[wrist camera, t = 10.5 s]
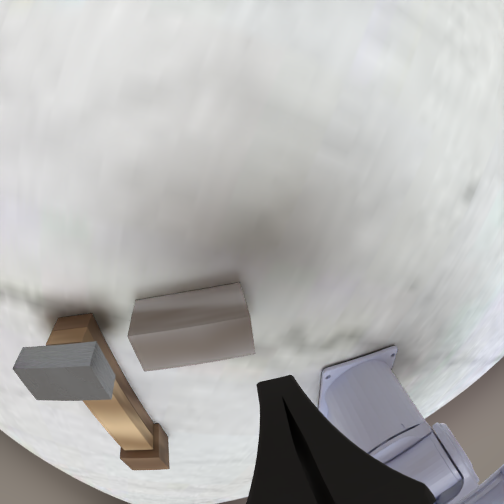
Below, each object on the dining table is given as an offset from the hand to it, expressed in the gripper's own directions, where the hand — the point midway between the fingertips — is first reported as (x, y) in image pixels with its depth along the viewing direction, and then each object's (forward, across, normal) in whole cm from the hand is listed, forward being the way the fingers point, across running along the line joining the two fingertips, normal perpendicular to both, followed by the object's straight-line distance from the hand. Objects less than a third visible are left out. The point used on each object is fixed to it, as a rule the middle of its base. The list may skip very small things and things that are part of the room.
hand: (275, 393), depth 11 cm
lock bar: (+6, +12, +2) cm, 13 cm away
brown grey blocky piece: (+9, +7, +9) cm, 15 cm away
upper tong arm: (+8, +12, +8) cm, 16 cm away
